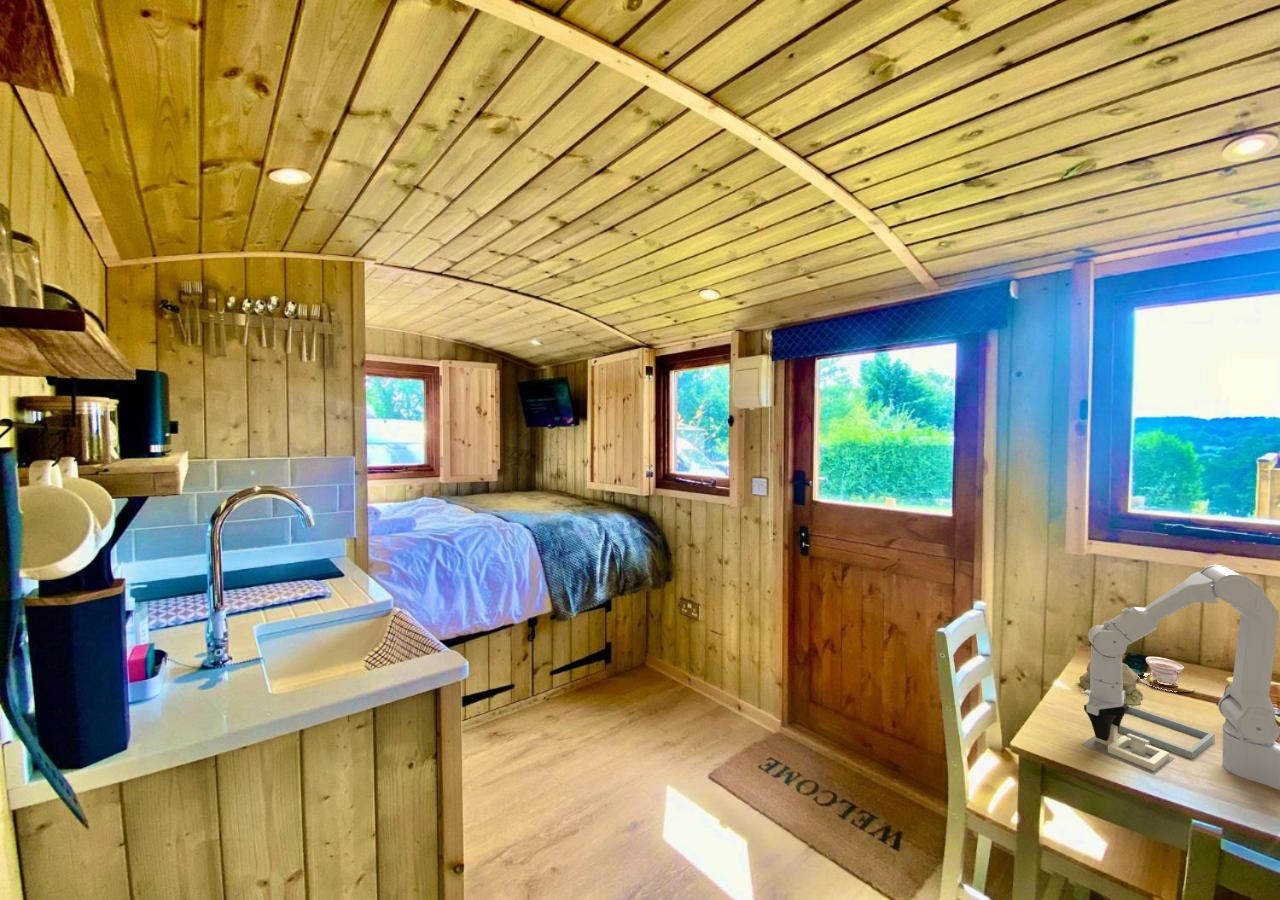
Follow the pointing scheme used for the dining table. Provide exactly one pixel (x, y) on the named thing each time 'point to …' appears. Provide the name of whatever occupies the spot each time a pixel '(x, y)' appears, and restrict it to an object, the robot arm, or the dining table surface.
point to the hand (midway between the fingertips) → (1106, 735)
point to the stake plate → (1135, 748)
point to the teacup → (1163, 671)
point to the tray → (1183, 728)
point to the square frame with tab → (1117, 749)
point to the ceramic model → (1129, 684)
